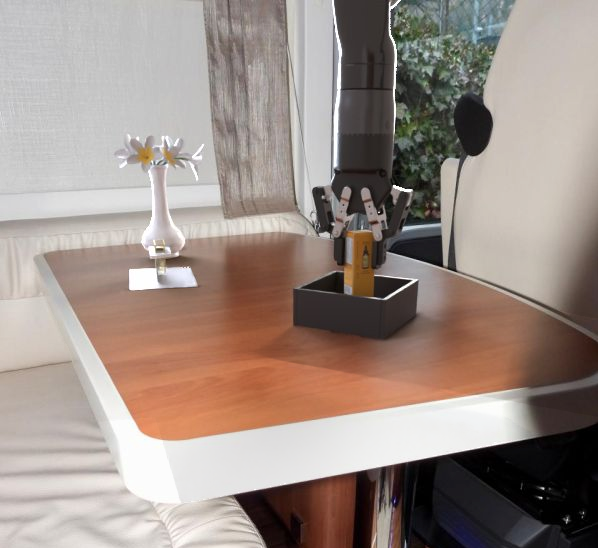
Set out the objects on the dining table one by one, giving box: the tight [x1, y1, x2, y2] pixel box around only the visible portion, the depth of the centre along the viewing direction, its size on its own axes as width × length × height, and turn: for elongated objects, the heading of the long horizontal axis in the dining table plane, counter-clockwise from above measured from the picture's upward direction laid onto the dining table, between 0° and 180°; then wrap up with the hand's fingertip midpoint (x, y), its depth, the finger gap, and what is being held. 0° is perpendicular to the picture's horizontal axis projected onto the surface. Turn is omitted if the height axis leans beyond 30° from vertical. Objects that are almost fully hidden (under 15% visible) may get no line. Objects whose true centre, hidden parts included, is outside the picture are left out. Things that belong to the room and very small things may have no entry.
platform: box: [129, 240, 199, 291], centre depth 120 cm, size 12×18×7 cm, turn 14°
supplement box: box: [343, 229, 375, 297], centre depth 87 cm, size 3×3×10 cm
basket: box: [292, 270, 420, 340], centre depth 89 cm, size 13×13×7 cm
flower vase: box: [113, 133, 205, 260], centre depth 137 cm, size 13×18×25 cm
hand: (359, 265), depth 87 cm, fingers closed on supplement box, 4 cm apart
